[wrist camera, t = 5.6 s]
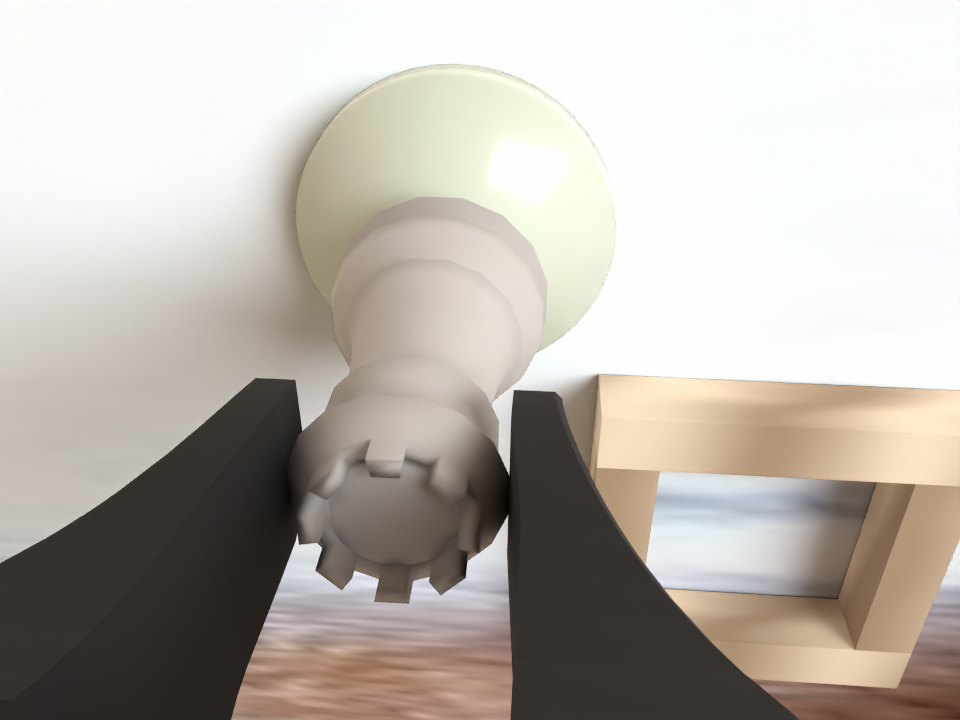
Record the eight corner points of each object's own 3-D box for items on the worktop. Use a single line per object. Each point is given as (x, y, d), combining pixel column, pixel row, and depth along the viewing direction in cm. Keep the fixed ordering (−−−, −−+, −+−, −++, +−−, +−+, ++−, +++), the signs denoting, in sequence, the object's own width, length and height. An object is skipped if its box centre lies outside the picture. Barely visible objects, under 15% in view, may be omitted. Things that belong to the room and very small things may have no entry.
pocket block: (971, 391, 21) (1002, 437, 20) (877, 636, 26) (896, 688, 25) (599, 374, 22) (602, 417, 20) (575, 617, 27) (576, 667, 25)
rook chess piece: (418, 409, 20) (356, 690, 13) (297, 257, 19) (154, 487, 12) (587, 319, 19) (615, 580, 12) (473, 145, 17) (429, 332, 10)
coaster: (628, 68, 18) (630, 79, 17) (600, 357, 22) (602, 376, 21) (287, 59, 18) (277, 70, 18) (319, 344, 22) (312, 362, 21)
